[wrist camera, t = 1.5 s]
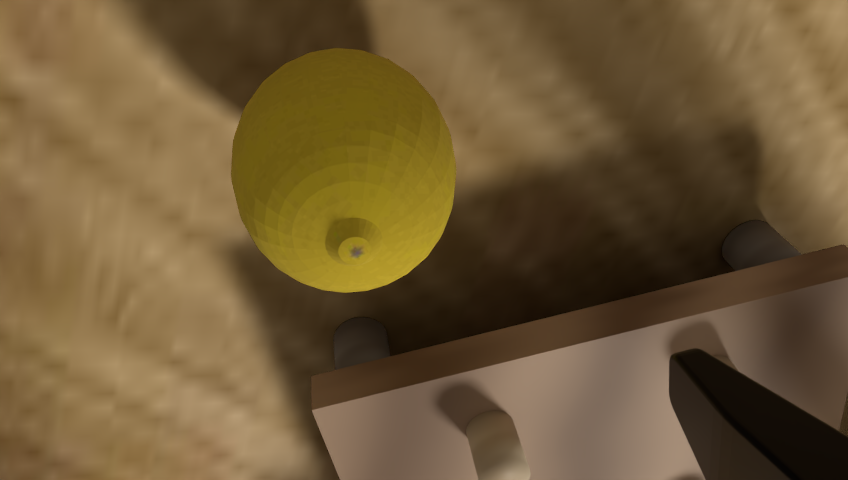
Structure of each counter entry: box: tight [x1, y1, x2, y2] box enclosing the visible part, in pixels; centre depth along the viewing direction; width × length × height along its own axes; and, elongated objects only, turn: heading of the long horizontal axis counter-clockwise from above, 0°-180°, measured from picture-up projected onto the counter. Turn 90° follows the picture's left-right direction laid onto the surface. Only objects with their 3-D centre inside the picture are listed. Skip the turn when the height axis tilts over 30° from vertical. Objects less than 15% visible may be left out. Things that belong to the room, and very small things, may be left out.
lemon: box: [231, 48, 456, 293], centre depth 17 cm, size 6×6×8 cm
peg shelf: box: [311, 220, 848, 480], centre depth 26 cm, size 18×13×6 cm
